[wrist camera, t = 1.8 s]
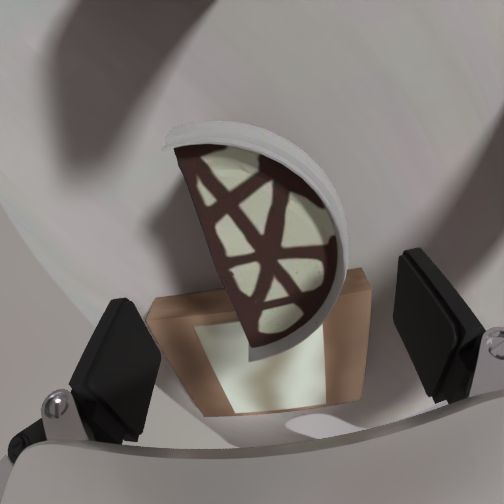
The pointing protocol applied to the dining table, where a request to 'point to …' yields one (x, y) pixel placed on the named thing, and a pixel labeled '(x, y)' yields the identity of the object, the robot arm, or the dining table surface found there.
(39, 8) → the dining table surface
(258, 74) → the dining table surface
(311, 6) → the dining table surface
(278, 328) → the food container
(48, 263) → the dining table surface
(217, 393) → the plinth
